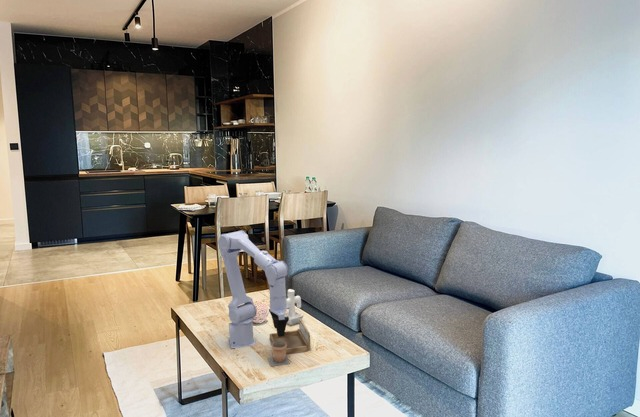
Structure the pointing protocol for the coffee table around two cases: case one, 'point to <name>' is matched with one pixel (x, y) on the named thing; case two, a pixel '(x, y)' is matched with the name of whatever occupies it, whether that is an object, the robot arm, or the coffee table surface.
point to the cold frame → (291, 341)
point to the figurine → (293, 308)
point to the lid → (304, 332)
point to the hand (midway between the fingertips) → (279, 331)
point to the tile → (278, 363)
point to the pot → (279, 352)
